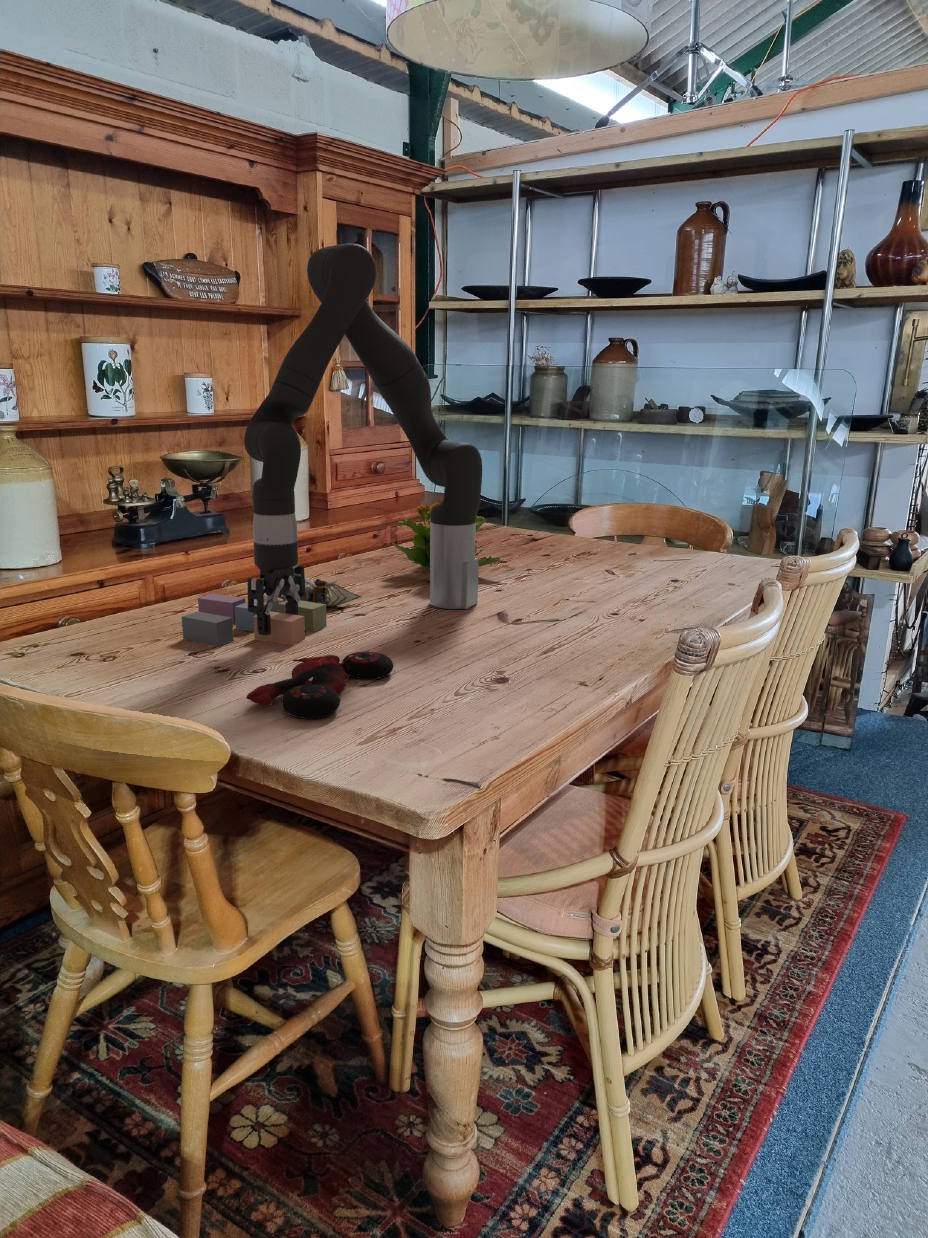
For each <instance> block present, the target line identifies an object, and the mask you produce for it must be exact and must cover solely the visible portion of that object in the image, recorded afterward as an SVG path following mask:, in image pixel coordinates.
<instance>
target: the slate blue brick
mask: <svg viewBox="0 0 928 1238" xmlns="http://www.w3.org/2000/svg"><path fill="white" fill-rule="evenodd" d="M278 600H279V598H277V601H276V603H275V604H273V605H272V608H271V612H278V613H279V608H278ZM256 603H257V600H256V599H254V606H256ZM265 606H266V602H264V607H265ZM255 615H256V613H252V612H248V601H246V603H243V604H240V605H238V606H235V620H236V624H235V629H236V630H243V631H250V632H254V620H253V616H255Z"/></svg>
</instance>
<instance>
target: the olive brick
mask: <svg viewBox="0 0 928 1238" xmlns="http://www.w3.org/2000/svg"><path fill="white" fill-rule="evenodd" d="M286 602H288V601H286V600H285V601H282V602H281V603H278V612H279V613H285V614H286V608H285V603H286ZM298 615H300V616H304V623H305V631H309V632H315V631H318V630H321V629H323V628H326V627H327V607H326V604H320V603H314V602H307V601H301V600H300V602H299V603H298Z"/></svg>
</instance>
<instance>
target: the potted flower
mask: <svg viewBox="0 0 928 1238" xmlns="http://www.w3.org/2000/svg"><path fill="white" fill-rule="evenodd" d="M439 504H440V502H434V503H433V504H432V505H429V504H425V506H424V505H423V504H420V506H419V505H418V506H416V512H418V514H419V515H420V516H417V518H418V519H419V520H421V521H422V522H423V523H422V522H418V523H417V522H415V521H413V520H412V519H407V518H405V519H403V520H404V521H402V520H398V523H397V525H401V526H405V527H408V528H410V529H411V530H412V531H413V532H414V533H415V534H414V535H413V538H412V541H411V542H412V544H413V546H414V547H411V548H408V547H404V546H402V545H401V546H400V545H399V544H397V543H395V542H391V544H392V545H393V546H394V547H395V548H396V549H398V550H399V551H400V552H402V553H404V554H405V555H406V558H407V559H408V560H409V561H410V562H411V563H412V564H418V565H420V566H421V567H423V568H425V569H427V570H429V571H430V529H431V521H430V519H431V509H432V508H433V507H434V506H436V505H439ZM480 521H481V522H480ZM478 522H480V523H478ZM485 522H487V518H485V517H484V516H481V515H480V516H478V515H477V514H476V533H477V532H478V531H479V530H480V529H481V527H482V526H483V525H484V524H485ZM427 526H428V527H427ZM477 542H478V540H477V539H475V557H477V556H478V555H479V554H480V553H482V552H483V551H484V549H485V548H482V549H480V550H479V551H478V550H477V548H478V547H477V546H476V545H477ZM478 560H479V562H478V567H482V566H487V565H490V564H493V563H497V562H498V563H499V562H500V561H501V562H502V561H504V559H501V558H500V557H498V556H496V557H492V556H489V557H486V556H484V557H481V559H480V558H478Z"/></svg>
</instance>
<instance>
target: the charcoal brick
mask: <svg viewBox="0 0 928 1238" xmlns="http://www.w3.org/2000/svg"><path fill="white" fill-rule="evenodd" d="M181 626H182V639H183V640H184V641H188V642H194V643H199V644H203V645H207V646H208V645H209V646H213V647H219V646H223V645H225V644H228V643H231V642H234V629H233V628H234V627H233V623H232V618H231V617H226V616H220V615H215V614H209V613H204V612H199V611H195V612H192V613H188V614H186V615H182V616H181Z"/></svg>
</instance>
